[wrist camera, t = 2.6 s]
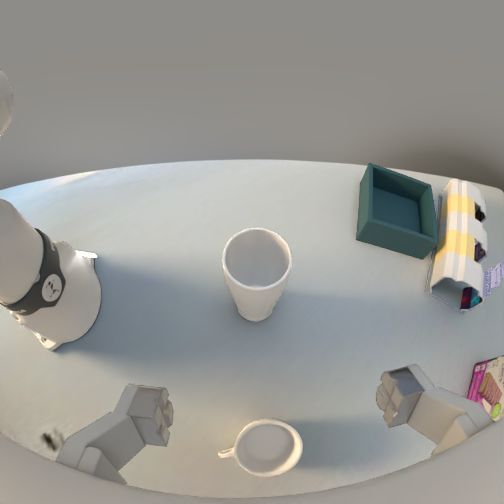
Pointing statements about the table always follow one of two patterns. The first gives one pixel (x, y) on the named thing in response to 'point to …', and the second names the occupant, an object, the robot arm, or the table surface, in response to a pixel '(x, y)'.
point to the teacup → (266, 448)
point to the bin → (396, 212)
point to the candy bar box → (489, 386)
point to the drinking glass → (256, 271)
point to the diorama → (461, 250)
